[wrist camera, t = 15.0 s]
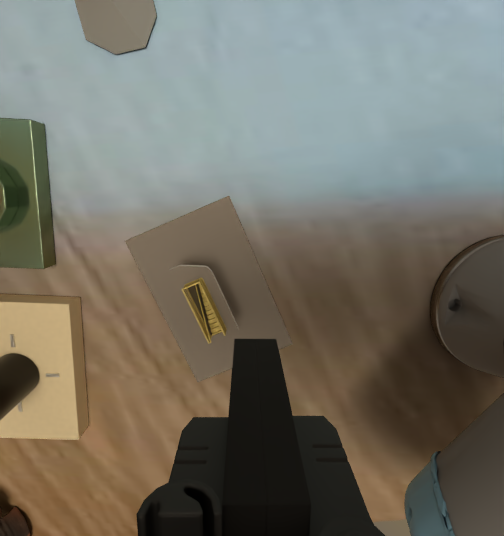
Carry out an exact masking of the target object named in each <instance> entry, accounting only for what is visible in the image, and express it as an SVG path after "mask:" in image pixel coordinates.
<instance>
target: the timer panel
mask: <svg viewBox="0 0 504 536" xmlns="http://www.w3.org/2000/svg"><path fill="white" fill-rule="evenodd" d="M11 353H15V354H21V355H24V356H26V357H28V358H29V359H30V360H32V361H33V362H34V364H35V365H36V366H37V368H38V371H39V382H38V384H37V386H36V387H35V388H34V389H33V390H32V391H31V392H30V393H29V394H28V395H27V396H26V397H25V398H24V399H23V400H22V401H21V402H20V403H18V404H17V405H16V406H15V407H14V408H13V409H12V410H11V411H10V412H9V413H8V414H7V415H6V416H4V417H3V418H2V419H1V420H0V438H31V439H67V440H79V439H80V437H81V436H82V434H83V433H84V431H85V430H86V428H87V427H88V425H89V420H88V405H87V390H86V375H85V360H84V345H83V329H82V314H81V299H80V297H66V296H41V295H16V294H0V357H1V356H3V355H6V354H11Z"/></svg>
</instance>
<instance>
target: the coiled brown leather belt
mask: <svg viewBox="0 0 504 536" xmlns="http://www.w3.org/2000/svg"><path fill="white" fill-rule="evenodd" d="M1 515H2V510H1V507H0V536H30V532H29V529H28V524H27V523H26V520H25V519H24V517H23V515H22V514H21V512H20V511H19V510H18V509H17V507H14V508H13V509H12V510H11V511H10V512H9V513H8V514H6V515H5V516H4V517H3V518H1Z"/></svg>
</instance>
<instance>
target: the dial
mask: <svg viewBox="0 0 504 536" xmlns="http://www.w3.org/2000/svg"><path fill="white" fill-rule="evenodd" d="M38 382H39V371H38V368H37V366H36V365H35V364H34V362H33V361H32V360H30V359H29V358H28V357H26V356H24V355H21V354H15V353H11V354H6V355H3V356H1V357H0V420H1V419H2V418H3V417H4V416H6V415H7V414H8V413H9V412H10V411H11V410H12V409H13V408H14V407H15V406H16V405H17V404H18V403H20V402H21V401H22V400H23V399H24V398H25V397H26V396H27V395H28V394H29V393H30V392H31V391H32V390H33V389H34V388H35V387H36V386H37V384H38Z"/></svg>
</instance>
